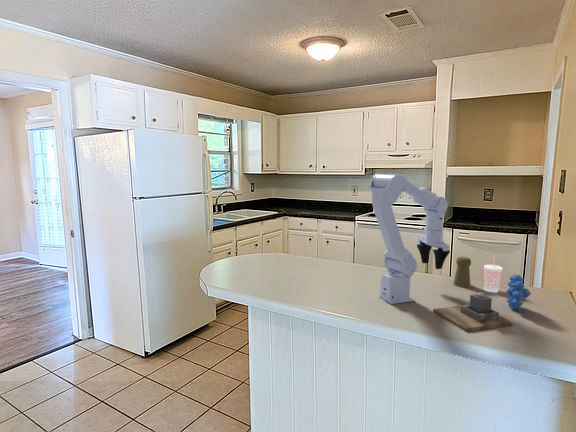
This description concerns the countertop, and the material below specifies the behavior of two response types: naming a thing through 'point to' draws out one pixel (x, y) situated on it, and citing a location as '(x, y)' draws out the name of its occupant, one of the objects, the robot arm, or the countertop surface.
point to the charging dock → (471, 318)
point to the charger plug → (480, 303)
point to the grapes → (516, 292)
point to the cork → (462, 272)
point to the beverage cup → (492, 277)
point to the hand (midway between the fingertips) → (431, 265)
